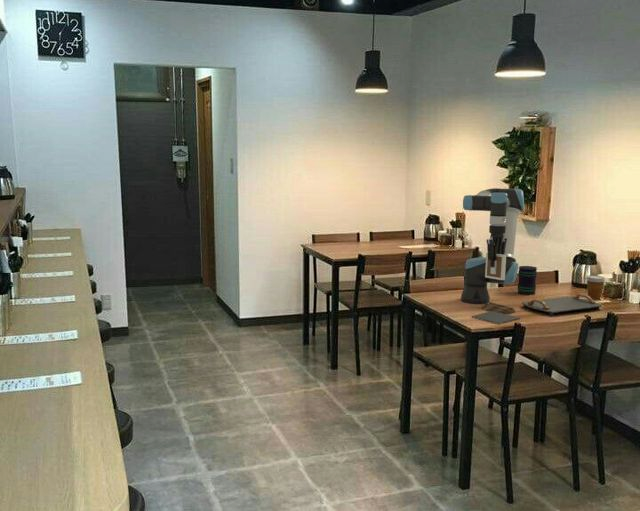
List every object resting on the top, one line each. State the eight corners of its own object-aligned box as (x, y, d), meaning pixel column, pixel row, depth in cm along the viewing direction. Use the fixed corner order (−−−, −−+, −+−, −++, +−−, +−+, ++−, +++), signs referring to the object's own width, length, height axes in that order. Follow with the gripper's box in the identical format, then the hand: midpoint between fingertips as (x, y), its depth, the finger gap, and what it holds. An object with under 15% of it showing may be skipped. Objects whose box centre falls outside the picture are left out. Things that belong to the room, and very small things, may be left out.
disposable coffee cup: (586, 299, 341) (587, 278, 339) (583, 295, 350) (585, 274, 348) (605, 300, 339) (606, 279, 337) (601, 296, 348) (603, 275, 346)
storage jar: (534, 291, 360) (536, 266, 358) (536, 295, 351) (537, 269, 348) (516, 290, 362) (518, 265, 360) (517, 294, 353) (519, 268, 351)
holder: (482, 309, 320) (482, 304, 320) (492, 306, 325) (492, 301, 324) (505, 314, 309) (505, 309, 309) (515, 312, 314) (515, 307, 314)
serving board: (572, 300, 341) (573, 289, 340) (607, 310, 320) (608, 298, 319) (516, 307, 325) (516, 296, 324) (548, 318, 304) (549, 306, 303)
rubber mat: (471, 317, 304) (471, 316, 304) (492, 312, 314) (492, 311, 314) (499, 324, 292) (499, 323, 292) (519, 318, 302) (519, 317, 301)
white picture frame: (484, 277, 306) (486, 253, 304) (487, 276, 307) (488, 252, 306) (502, 280, 298) (503, 255, 297) (504, 279, 300) (506, 255, 298)
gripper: (494, 226, 292) (491, 276, 295) (513, 225, 301) (511, 273, 304) (481, 225, 298) (478, 273, 301) (500, 223, 307) (498, 271, 310)
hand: (495, 273), depth 302 cm, fingers closed on white picture frame, 2 cm apart
